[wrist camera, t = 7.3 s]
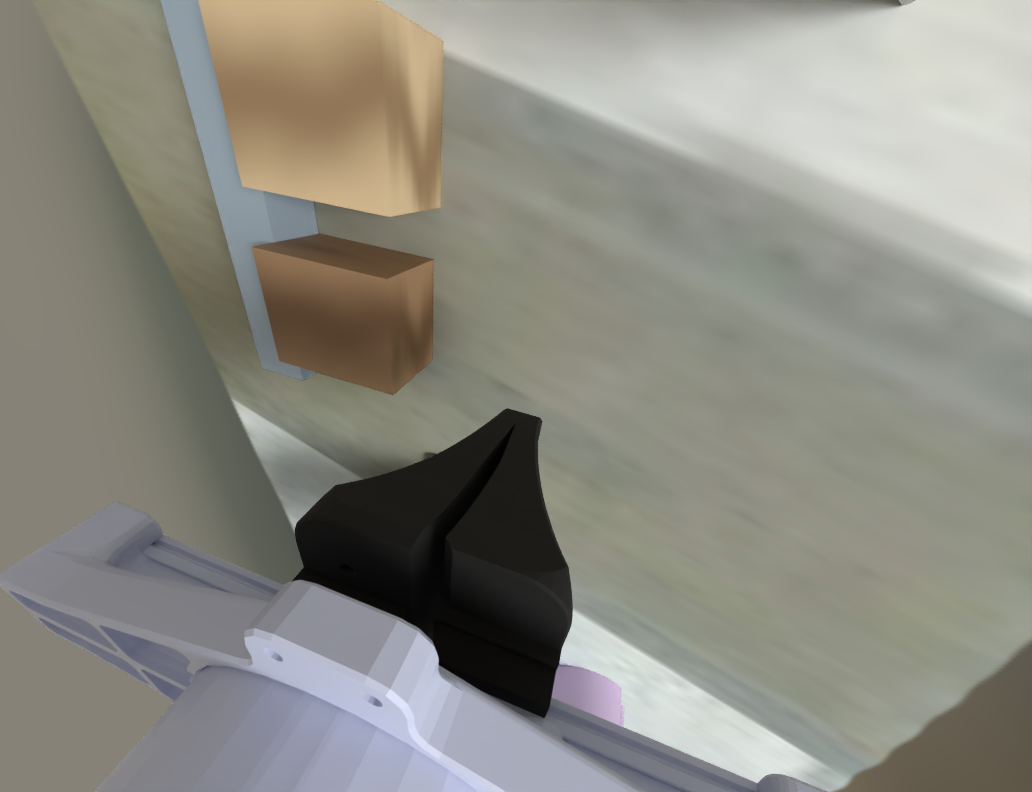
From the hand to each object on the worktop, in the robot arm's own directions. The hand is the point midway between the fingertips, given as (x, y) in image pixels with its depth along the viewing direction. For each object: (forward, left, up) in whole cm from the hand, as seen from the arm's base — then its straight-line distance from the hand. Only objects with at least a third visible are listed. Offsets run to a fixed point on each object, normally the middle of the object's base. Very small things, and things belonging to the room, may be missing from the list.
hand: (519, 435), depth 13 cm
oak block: (+9, +11, -8) cm, 16 cm away
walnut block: (0, +11, -8) cm, 14 cm away
